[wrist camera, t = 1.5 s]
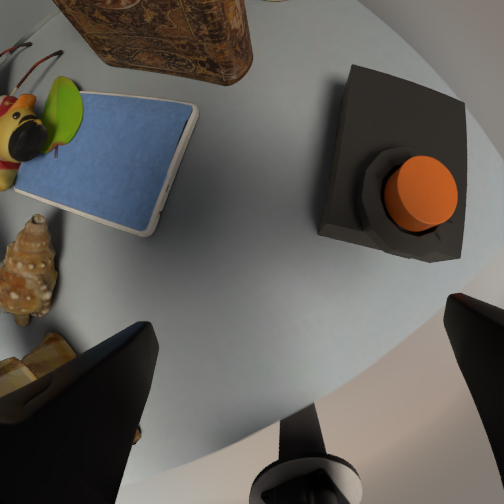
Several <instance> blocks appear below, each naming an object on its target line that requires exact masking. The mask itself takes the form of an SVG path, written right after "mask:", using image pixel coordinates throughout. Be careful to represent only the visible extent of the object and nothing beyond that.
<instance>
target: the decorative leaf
mask: <svg viewBox="0 0 504 504" xmlns="http://www.w3.org/2000/svg"><path fill="white" fill-rule="evenodd" d="M82 116H83V103H82V98H81V95H80V93H79V90H78V89H77V87H76V85H75V84H74V83H73V82H72V81H71V80H70V79H69V78H67V77H64V76H59V77H57V78H56V79H55V81H54V82H53V85H52V87H51V89H50V92H49V95H48V98H47V101H46V104H45V107H44V110H43V113H42V116H41V119H40V120H41V122H42V123H43V125H44V126H45V127H46V129H47V140H46V142H45V144H44V146H43V148H42V150H41V151H40V152H41V153H43V154H46V153H48V152H50V151H51V150H52V149H53V148H54V147H55V153H54V158H56V150H57V146H58V145H65V144H67V143H68V142H69V141H70V140H71V139H72V138H73V136H74V135H75V133H76V132H77V130H78V128H79V126H80V123H81V120H82Z"/></svg>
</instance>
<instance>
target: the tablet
mask: <svg viewBox="0 0 504 504" xmlns="http://www.w3.org/2000/svg"><path fill="white" fill-rule="evenodd" d="M79 93H80V95H81V98H82V103H83V116H82V120H81V123H80V126H79V128H78V130H77V132H76V133H75V135H74V136H73V138H72V139H71V140H70V141H69V142H68V143H67V144H65V145H58V146H57V150H56V158H54V153H55V147H54V148H53V149H52V150H51V151H50V152H48V153H46V154H43V153H41V152H39V154H38V155H37V156H36V157H34V158H33V159H31V160H29V161H27V162H21V165H20V167H19V170H18V173H17V176H16V178H15V181H14V190H15V191H16V192H17V193H20V194H22V195H25V196H28V197H30V198H33V199H36V200H39V201H41V202H44V203H47V204H50V205H52V206H55V207H58V208H61V209H63V210H66V211H69V212H72V213H74V214H77V215H80V216H83V217H86V218H88V219H91V220H93V221H95V222H99V223H102V224H104V225H107V226H111V227H114V228H116V229H119V230H122V231H126V232H129V233H132V234H135V235H137V236H140V237H148V236H150V235H151V234H152V233H153V232H154V231H155V229H156V226H157V224H158V221H159V218H160V212H161V211H162V210H163V208H164V205H165V202H166V199H167V197H168V194H169V191H170V189H171V186H172V184H173V181H174V179H175V176H176V173H177V171H178V168H179V165H180V163H181V160H182V158H183V155H184V153H185V150H186V147H187V145H188V142H189V140H190V137H191V135H192V132H193V130H194V127H195V125H196V122H197V120H198V117H199V108H198V107H197V106H196V105H195V104H193V103H189V102H182V101H175V100H168V99H161V98H153V97H144V96H135V95H126V94H115V93H102V92H88V91H79ZM40 119H41V118H40Z"/></svg>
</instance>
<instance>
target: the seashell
mask: <svg viewBox="0 0 504 504" xmlns="http://www.w3.org/2000/svg"><path fill="white" fill-rule="evenodd" d="M50 238H51V234H50V232H49V230H48V223H47V221H46V219H45V218H44V217H43V216H41V215H40V214H35V215H33V216H32V217H31V219H30V220H29V221H28V222H27V223H26V224H25V228H24V229H23V230H22V231H21V232H19V234H18V235H17V236H16V241H14V242H12V243H11V244H9V245H8V246H7V250H6V256H5V258H4V263H5V264H4V265H3V266H2V267H1V268H0V306H1V307H2V308H4V309H6V310H7V311H8V312H11V313H13V315H14V318H15V321H16V324H17V325H19V326H21V327H25V326H26V325H27V324H28V322H29V318H30V314H31V315H33V316H37V317H43V316H44V315H46V313H47V312H48V311H49V310H50V308H51V304H50V301H51V296H52V292H53V289H54V286H55V284H56V279H57V274H58V273H57V271H56V270H55V268H54V267H55V262H54V257H55V250H54V249H53V246H52V244H51V241H50Z"/></svg>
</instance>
